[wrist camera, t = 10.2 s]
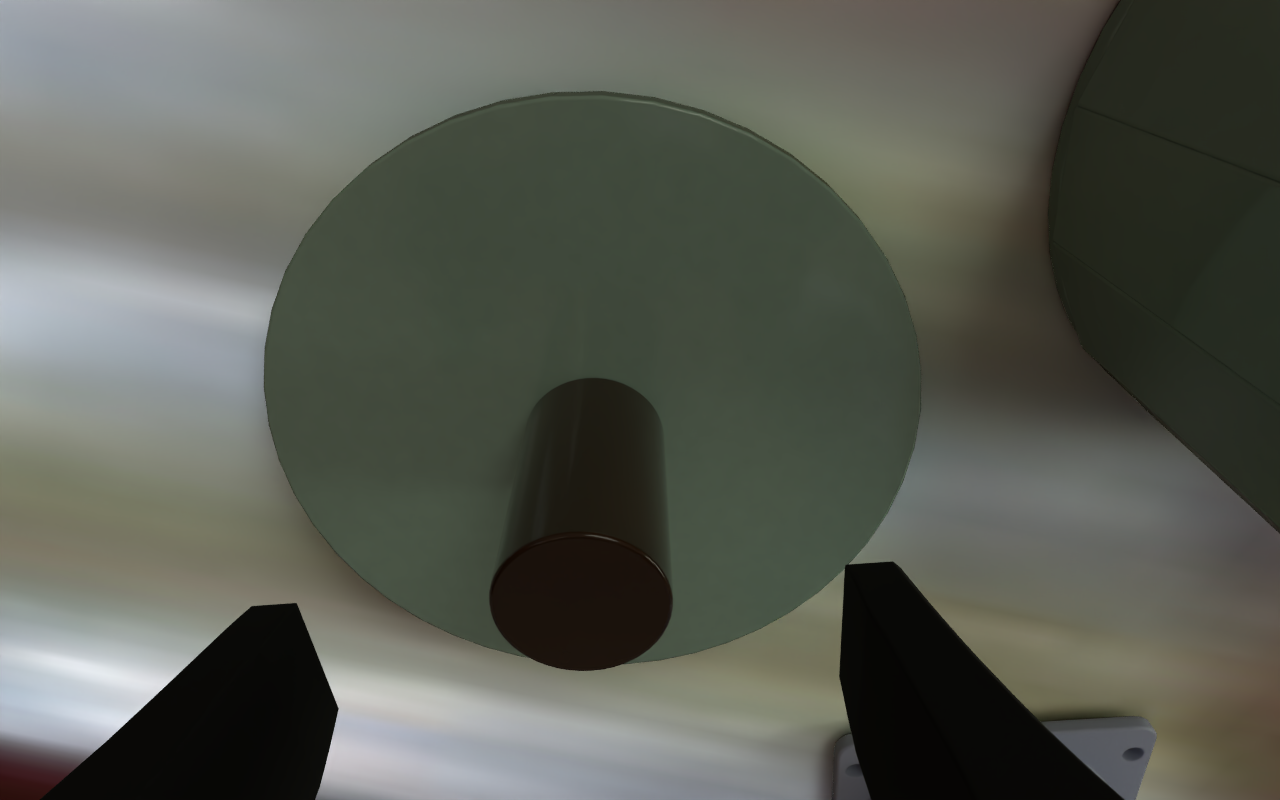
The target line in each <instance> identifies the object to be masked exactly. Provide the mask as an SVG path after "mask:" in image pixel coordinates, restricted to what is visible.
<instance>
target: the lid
mask: <svg viewBox="0 0 1280 800" xmlns="http://www.w3.org/2000/svg"><path fill="white" fill-rule="evenodd" d="M264 392H265V399H266V407H267V414H268V422H269V427H270V430H271V434H272V437H273V441H274V444H275V448H276V451H277V455H278V458H279V461H280V463H281V466H282V468H283V470H284V472H285V475H286V477H287V479H288V481H289V484H290V486H291V488H292V490H293V493H294V494H295V496H296V498H297V499H298V501H299V503H300V504H301V506H302V507H303V509H304V511H305V512H306V514H307V516H308V517H309V519H310V520H311V522H312V524H313V525H314V526H315V528H316V529H317V530H318V531H319V533H320V534H321V535H322V536H323V538H324V539H325V540H326V541H327V543H328V544H329V545H330V546H331V547H332V549H333V550H334V551H335V552H336V554H338V555H339V556H340V557H341V558H342V559H343V560H344V561H345V562H346V563H347V564H348V565H349V566H350V567H351V568H352V569H353V570H354V571H355V572H356V573H357V574H358V575H359V576H360V577H361V578H362V579H363V580H365V581H366V582H367V583H369V584H370V585H371V586H372V587H374V588H375V589H376V590H378V591H379V592H380V593H381V594H383V595H384V596H385V597H386V598H388V599H389V600H390V601H392V602H394V603H395V604H397V605H398V606H400V607H402V608H403V609H405V610H407V611H408V612H410V613H411V614H413V615H415V616H416V617H418V618H419V619H421V620H423V621H425V622H427V623H429V624H431V625H433V626H435V627H438V628H440V629H442V630H444V631H446V632H448V633H450V634H452V635H454V636H457V637H460V638H462V639H465V640H468V641H471V642H473V643H476V644H479V645H481V646H484V647H487V648H491V649H495V650H498V651H502V652H506V653H509V654H513V655H517V656H521V657H527V658H531V659H533V660H535V661H537V662H540V663H543V664H545V665H548V666H552V667H556V668H561V669H566V670H577V671H592V670H601V669H606V668H611V667H615V666H618V665H621V664H632V663H640V662H649V661H658V660H664V659H669V658H674V657H678V656H683V655H688V654H693V653H697V652H700V651H703V650H706V649H709V648H712V647H716V646H719V645H722V644H725V643H728V642H731V641H733V640H735V639H738V638H740V637H742V636H745V635H747V634H749V633H752V632H754V631H756V630H759V629H761V628H763V627H764V626H766V625H768V624H770V623H772V622H773V621H775V620H777V619H779V618H781V617H782V616H784V615H786V614H788V613H790V612H791V611H793V610H794V609H795V608H797V607H798V606H800V605H801V604H803V603H804V602H805V601H807V600H808V599H810V598H811V597H812V596H814V595H815V594H817V593H818V592H819V591H820V590H822V589H823V588H824V587H825V586H826V585H827V584H828V583H829V582H831V581H832V580H833V579H834V578H835V577H836V576H837V575H838V574H839V573H841V572H842V571H843V570H844V569H845V565H848V564H849V563H850V562H851V561H852V560H853V559H854V558H855V556H856V555H857V554H858V553H859V552H860V551H861V550H862V548H863V547H864V546H865V545H866V544H867V543H868V541H869V540H870V538H871V537H872V535H873V534H874V532H875V531H876V529H877V528H878V527H879V525H880V524H881V522H882V521H883V519H884V518H885V516H886V515H887V513H888V511H889V509H890V507H891V505H892V503H893V501H894V499H895V497H896V495H897V493H898V491H899V489H900V487H901V485H902V483H903V480H904V477H905V474H906V471H907V468H908V465H909V462H910V459H911V456H912V453H913V450H914V446H915V440H916V435H917V429H918V423H919V417H920V412H921V365H920V358H919V351H918V343H917V336H916V332H915V328H914V325H913V322H912V318H911V315H910V311H909V308H908V305H907V301H906V298H905V295H904V293H903V291H902V289H901V287H900V285H899V283H898V280H897V278H896V276H895V274H894V272H893V270H892V268H891V266H890V264H889V261H888V259H887V258H886V256H885V255H884V253H883V252H882V250H881V249H880V247H879V246H878V244H877V243H876V241H875V240H874V238H873V237H872V235H871V234H870V233H869V231H868V230H867V228H866V227H865V225H864V224H863V222H862V221H861V220H860V218H859V217H858V216H857V215H856V214H855V213H854V212H853V210H852V209H851V208H850V207H849V206H848V205H847V204H846V203H845V202H844V201H843V200H842V199H841V198H840V196H839V195H838V194H837V193H836V192H835V191H834V190H833V189H832V188H831V187H830V186H829V185H828V184H827V182H825V181H824V180H823V179H822V178H820V177H819V176H818V175H817V174H815V173H814V172H813V171H812V170H810V169H809V168H808V167H807V166H805V165H804V164H803V163H802V162H800V161H799V160H798V159H797V158H795V157H794V156H793V155H792V154H791V153H789V152H787V151H786V150H784V149H782V148H781V147H779V146H777V145H775V144H774V143H772V142H770V141H769V140H767V139H765V138H764V137H762V136H760V135H758V134H757V133H755V132H753V131H752V130H750V129H748V128H746V127H743V126H741V125H739V124H736V123H734V122H731V121H729V120H726V119H724V118H722V117H719V116H717V115H714V114H712V113H710V112H707V111H705V110H702V109H698V108H694V107H691V106H687V105H683V104H679V103H675V102H671V101H667V100H663V99H660V98H656V97H650V96H641V95H632V94H624V93H615V92H607V91H584V92H550V93H544V94H538V95H532V96H526V97H520V98H513V99H507V100H502V101H498V102H495V103H492V104H489V105H486V106H482V107H479V108H476V109H473V110H470V111H466V112H463V113H460V114H457V115H454V116H452V117H450V118H448V119H446V120H444V121H442V122H439V123H437V124H435V125H433V126H431V127H429V128H427V129H425V130H423V131H421V132H419V133H417V134H415V135H412V136H411V137H409V138H408V139H406V140H405V141H403V142H402V143H400V144H399V145H397V146H396V147H394V148H393V149H392V150H390V151H389V152H387V153H386V154H384V155H383V156H381V157H380V158H378V159H377V160H375V161H374V162H372V163H371V164H370V165H369V166H368V167H367V168H365V169H364V170H363V171H362V172H361V173H360V174H359V175H358V176H357V177H356V178H355V179H354V180H353V181H352V182H350V183H349V184H348V185H347V186H346V187H345V188H344V189H343V190H342V191H341V192H340V193H339V194H338V195H337V196H335V197H334V198H333V199H332V201H331V202H330V203H329V204H328V206H327V207H326V208H325V210H324V211H323V212H322V213H321V215H320V216H319V217H318V219H317V220H316V221H315V222H314V224H313V225H312V226H311V228H310V229H309V230H308V231H307V233H306V234H305V236H304V238H303V239H302V241H301V243H300V245H299V247H298V248H297V250H296V252H295V254H294V256H293V258H292V259H291V261H290V263H289V265H288V267H287V269H286V270H285V273H284V276H283V279H282V281H281V284H280V287H279V290H278V293H277V296H276V298H275V301H274V304H273V307H272V310H271V316H270V321H269V327H268V332H267V338H266V343H265V355H264Z"/></svg>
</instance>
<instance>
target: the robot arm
mask: <svg viewBox="0 0 1280 800" xmlns="http://www.w3.org/2000/svg"><path fill="white" fill-rule="evenodd" d="M839 677H840V681H841V686H842V691H843V696H844V701H845V706H846V710H847V715H848V720H849V724H850V729H851V733H852V734H847V735H845V736H843V737H841V738H840V739H839V740H838V741H837V742H836V744H835V747H834V766H833V786H832V800H1135V799H1136V796H1137V794H1138V791H1139V788H1140V785H1141V782H1142V779H1143V776H1144V773H1145V770H1146V767H1147V764H1148V761H1149V759H1150V756H1151V753H1152V750H1153V747H1154V744H1155V741H1156V736H1157V733H1156V732H1155V730H1154V729H1153V727H1152V726H1151V724H1150V723H1149V721H1148V720H1147V719H1145V718H1143V717H1139V716H1125V717H1108V718H1092V719H1076V720H1059V721H1043V722H1040V721H1039V720H1038V719H1037V718H1036V717H1035V716H1034V715H1033V714H1032V713H1031V712H1030V711H1029V710H1028V709H1027V708H1026V707H1025V706H1024V705H1023V704H1022V703H1021V702H1020V701H1019V700H1018V699H1017V698H1016V697H1015V696H1014V695H1013V694H1012V693H1011V692H1010V691H1009V690H1008V689H1007V688H1006V686H1005V685H1004V684H1003V683H1002V682H1001V681H1000V680H999V679H998V678H997V677H996V676H995V675H994V674H993V673H992V672H991V671H990V670H989V669H988V668H987V667H986V666H985V665H984V663H983V662H982V661H981V660H980V659H979V658H978V657H977V656H976V655H975V654H974V653H973V652H972V651H971V649H970V648H969V647H968V646H967V645H966V644H965V643H964V642H963V641H962V639H961V638H960V637H959V636H958V635H957V634H956V633H955V632H954V630H953V629H952V628H951V627H950V626H949V625H948V624H947V623H946V621H945V620H944V619H943V618H942V617H941V616H940V614H939V613H938V612H937V611H936V610H935V609H934V608H933V606H932V605H931V604H930V603H929V602H928V600H927V599H926V598H925V597H924V596H923V595H922V593H921V592H920V591H919V590H918V588H917V587H916V586H915V585H914V584H913V582H912V581H911V580H910V579H909V578H908V576H907V575H906V574H905V573H904V571H903V570H902V569H901V568H900V567H899V566H898V565H896V564H895V563H894V562H879V563H865V564H850V565H845V578H844V597H843V616H842V636H841V655H840V674H839ZM337 713H338V706H337V704H336V701H335V698H334V696H333V693H332V691H331V688H330V686H329V683H328V681H327V678H326V676H325V673H324V671H323V668H322V666H321V663H320V661H319V658H318V656H317V653H316V651H315V648H314V646H313V643H312V641H311V638H310V635H309V633H308V630H307V628H306V625H305V623H304V620H303V618H302V615H301V613H300V610H299V608H298V605H297V603H291V604H277V605H262V606H251V607H250V608H249V609H248V610H247V611H246V612H245V613H243V614H242V615H241V616H240V617H239V618H238V619H237V620H236V621H234V622H233V623H232V624H231V625H230V626H229V627H228V628H227V629H226V630H225V631H224V632H222V633H221V634H220V635H219V636H218V637H217V638H216V639H215V640H214V641H213V642H212V643H211V644H210V645H209V646H208V647H207V648H205V649H204V650H203V651H202V652H201V653H200V654H199V655H198V656H197V657H196V658H195V659H194V660H193V661H192V662H191V663H190V664H189V665H188V666H187V667H185V668H184V669H183V670H182V671H181V672H180V673H179V674H178V675H177V676H176V677H175V678H174V679H173V680H172V681H171V682H170V683H169V684H168V685H167V686H165V687H164V688H163V689H162V690H161V691H160V692H159V693H158V694H157V695H156V696H155V697H154V698H153V699H152V700H150V701H149V702H148V703H147V704H146V705H145V706H144V707H143V708H142V709H141V710H140V711H139V712H138V713H137V714H135V715H134V716H133V717H132V718H131V719H130V720H129V721H128V722H127V723H126V724H125V725H124V726H123V727H122V728H120V729H119V730H118V731H117V732H116V733H115V734H114V735H113V736H112V737H111V738H110V739H109V740H107V741H106V742H105V743H104V744H103V745H102V746H101V747H100V748H98V749H97V750H96V751H95V752H94V753H93V754H92V755H90V756H89V757H88V758H87V759H86V760H85V761H84V762H82V763H81V764H80V765H79V766H78V767H77V768H76V769H74V770H73V771H72V772H71V773H70V774H69V775H68V776H66V777H65V778H64V779H63V780H62V781H61V782H60V783H58V784H57V785H56V786H55V787H54V788H53V789H52V790H50V791H49V792H48V793H47V794H46V795H45V796H44V797H42V798H41V799H40V800H315V798H316V795H317V793H318V790H319V787H320V784H321V780H322V776H323V772H324V768H325V764H326V761H327V757H328V753H329V749H330V744H331V740H332V735H333V731H334V727H335V722H336V718H337Z"/></svg>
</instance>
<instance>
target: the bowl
mask: <svg viewBox="0 0 1280 800" xmlns="http://www.w3.org/2000/svg"><path fill="white" fill-rule="evenodd" d="M1048 221H1049V245H1050V256H1051V261H1052V266H1053V271H1054V276H1055V281H1056V286H1057V290H1058V292H1059V295H1060V298H1061V300H1062V303H1063V306H1064V308H1065V311H1066V314H1067V316H1068V319H1069V321H1070V323H1071V324H1072V326H1073V328H1074V329H1075V331H1076V333H1077V335H1078V337H1079V341H1080V344H1081V345H1082V347H1083V349H1084V350H1085V351H1086V352H1087V353H1088V354H1089V355H1090V356H1091V357H1092V358H1093V359H1094V360H1095V361H1096V362H1097V363H1098V364H1099V365H1100V366H1101V367H1102V368H1103V369H1104V370H1105V371H1106V372H1107V373H1108V374H1109V375H1110V376H1111V377H1112V378H1113V379H1115V380H1116V381H1117V382H1118V383H1119V384H1120V385H1121V386H1122V387H1123V388H1124V389H1125V390H1126V391H1127V392H1128V393H1129V394H1130V395H1131V396H1132V397H1133V398H1134V399H1135V400H1136V401H1137V402H1138V403H1139V404H1140V405H1141V406H1142V407H1143V408H1144V409H1145V410H1146V411H1147V412H1148V413H1149V414H1150V415H1152V416H1153V417H1154V418H1155V419H1156V420H1157V421H1158V422H1159V423H1160V424H1161V425H1162V426H1163V427H1165V428H1166V429H1167V430H1168V431H1169V432H1170V433H1171V434H1172V435H1173V436H1174V437H1175V438H1176V439H1178V440H1179V441H1180V442H1181V443H1182V444H1183V445H1184V446H1185V447H1186V448H1187V449H1188V450H1189V451H1191V452H1192V453H1193V454H1194V455H1195V456H1196V457H1197V458H1198V459H1199V460H1200V461H1201V462H1202V463H1204V464H1205V465H1206V466H1207V467H1208V468H1209V469H1210V470H1211V471H1212V472H1213V473H1214V474H1216V475H1217V476H1218V477H1219V478H1220V479H1221V480H1222V481H1223V482H1224V483H1225V484H1226V485H1227V486H1229V487H1230V488H1231V489H1232V490H1233V491H1234V492H1235V493H1236V494H1237V495H1238V496H1239V497H1240V498H1242V499H1243V500H1244V501H1245V502H1246V503H1247V504H1248V505H1249V506H1250V507H1251V508H1252V509H1253V510H1255V511H1256V512H1257V513H1258V514H1259V515H1260V516H1261V517H1262V518H1263V519H1264V520H1265V521H1266V522H1268V523H1269V524H1270V525H1271V526H1272V527H1273V528H1274V529H1275V530H1276V531H1277V532H1278V533H1279V534H1280V0H1120V2H1119V4H1118V5H1117V7H1116V9H1115V10H1114V12H1113V14H1112V15H1111V17H1110V18H1109V20H1108V22H1107V23H1106V25H1105V27H1104V28H1103V30H1102V32H1101V34H1100V36H1099V38H1098V40H1097V42H1096V44H1095V46H1094V49H1093V51H1092V53H1091V55H1090V57H1089V59H1088V61H1087V63H1086V65H1085V67H1084V69H1083V71H1082V74H1081V76H1080V78H1079V80H1078V83H1077V86H1076V89H1075V91H1074V94H1073V97H1072V100H1071V103H1070V106H1069V108H1068V111H1067V114H1066V117H1065V120H1064V123H1063V125H1062V130H1061V134H1060V138H1059V143H1058V147H1057V152H1056V156H1055V160H1054V165H1053V169H1052V178H1051V188H1050V198H1049V209H1048Z"/></svg>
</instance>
